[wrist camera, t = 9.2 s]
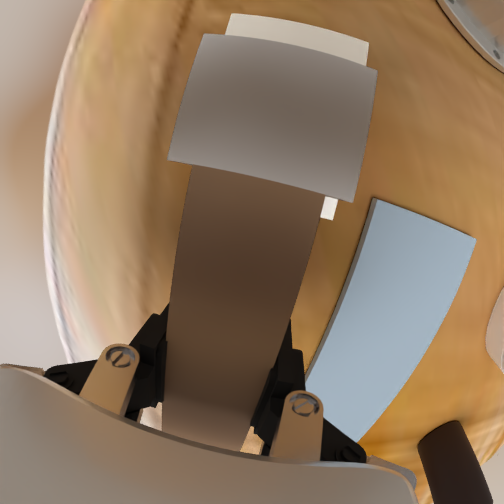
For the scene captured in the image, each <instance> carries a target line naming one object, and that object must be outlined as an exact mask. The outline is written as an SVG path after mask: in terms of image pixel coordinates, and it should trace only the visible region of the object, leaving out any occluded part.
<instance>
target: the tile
mask: <svg viewBox="0 0 504 504" xmlns="http://www.w3.org/2000/svg"><path fill="white" fill-rule="evenodd" d="M225 35H233V36H243V37H251V38H258V39H265V40H271V41H277V42H282V43H287V44H292V45H296V46H301V47H305V48H309V49H313V50H317V51H321V52H324V53H328V54H331V55H335V56H338V57H341V58H344V59H347V60H350V61H353V62H356V63H359V64H362V65H364V66H366V62H367V55H368V48H369V43H368V42H366V41H363V40H360V39H357V38H354V37H351V36H348V35H345V34H342V33H338V32H335V31H331V30H328V29H324V28H320V27H316V26H312V25H308V24H304V23H299V22H294V21H289V20H283V19H277V18H271V17H264V16H256V15H246V14H234V13H232V14H231V17H230V20H229V23H228V26H227V30H226V33H225ZM337 202H338V199H335V198H330V197H326V196H325V200H324V204H323V208H322V212H321V216H320V217H322V218H326V219H330V220H333V217H334V213H335V209H336V206H337Z"/></svg>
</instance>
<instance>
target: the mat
mask: <svg viewBox="0 0 504 504" xmlns="http://www.w3.org/2000/svg"><path fill="white" fill-rule="evenodd" d="M476 240H477V239H475V238H473V237H471V236H469V235H466V234H464V233H462V232H460V231H458V230H455V229H453V228H451V227H448V226H446V225H444V224H441V223H439V222H437V221H434V220H432V219H429V218H427V217H424V216H422V215H419V214H417V213H414V212H412V211H409V210H406V209H404V208H401V207H398V206H395V205H393V204H390V203H387V202H384V201H381V200H378V199H376V198H373V199H372V202H371V206H370V209H369V213H368V216H367V219H366V223H365V226H364V229H363V232H362V236H361V239H360V242H359V245H358V248H357V251H356V254H355V257H354V259H353V262H352V265H351V268H350V271H349V274H348V276H347V279H346V282H345V284H344V287H343V290H342V292H341V295H340V297H339V300H338V302H337V305H336V307H335V310H334V312H333V315H332V317H331V320H330V322H329V324H328V327H327V329H326V331H325V334H324V336H323V338H322V340H321V343H320V345H319V347H318V349H317V351H316V354H315V356H314V358H313V360H312V362H311V364H310V366H309V368H308V371H307V373H306V375H305V386H306V391H308V392H310V393H313V394H314V395H316V396H317V397H318V398H319V399H320V400H321V402H322V403H323V408H324V412H323V417H324V418H325V419H326V420H328V421H329V422H330V423H331V424H333V425H334V426H335V427H336V428H338V429H339V430H340V431H342V432H343V433H344V434H345V435H347V436H348V437H349V438H351V439H352V440H353V441H355V442H356V443H357V442H358V441H359V440H360V439H361V437H362V436H363V435H364V434H365V433H366V432H367V431H368V430H369V428H370V427H371V426H372V425H373V424H374V423H375V421H376V420H377V419H378V418H379V417H380V415H381V414H382V413H383V412H384V411H385V409H386V408H387V407H388V405H389V404H390V403H391V402H392V400H393V399H394V398H395V396H396V395H397V394H398V392H399V391H400V390H401V388H402V387H403V385H404V384H405V382H406V381H407V380H408V378H409V377H410V375H411V374H412V372H413V371H414V369H415V368H416V366H417V365H418V363H419V361H420V360H421V358H422V357H423V355H424V353H425V352H426V350H427V348H428V347H429V345H430V343H431V342H432V340H433V338H434V336H435V334H436V333H437V331H438V329H439V327H440V325H441V323H442V321H443V320H444V318H445V316H446V314H447V312H448V310H449V307H450V305H451V303H452V301H453V299H454V297H455V295H456V292H457V290H458V288H459V286H460V283H461V281H462V278H463V276H464V274H465V271H466V268H467V266H468V263H469V261H470V258H471V255H472V252H473V249H474V246H475V243H476Z"/></svg>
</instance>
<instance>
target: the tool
mask: <svg viewBox="0 0 504 504" xmlns="http://www.w3.org/2000/svg"><path fill="white" fill-rule="evenodd" d="M377 74H378V71H377V70H375V69H372V68H370V67H367V66H364V65H362V64H359V63H356V62H353V61H350V60H347V59H344V58H341V57H338V56H335V55H331V54H328V53H324V52H321V51H317V50H313V49H309V48H305V47H301V46H296V45H292V44H287V43H282V42H277V41H271V40H265V39H258V38H251V37H243V36H233V35H221V34H204V35H203V38H202V40H201V43H200V46H199V49H198V51H197V54H196V57H195V60H194V63H193V66H192V69H191V72H190V75H189V78H188V81H187V85H186V88H185V91H184V95H183V98H182V102H181V105H180V109H179V112H178V116H177V120H176V124H175V128H174V132H173V136H172V140H171V144H170V148H169V153H168V157H167V160H170V161H175V162H180V163H184V164H189V165H192V170H191V175H190V179H189V184H188V189H187V194H186V199H185V204H184V210H183V215H182V221H181V226H180V232H179V238H178V245H177V251H176V258H175V264H174V271H173V279H172V287H171V295H170V303H169V312H168V322H167V333H166V341H168V343H167V356H166V370H165V387H164V401H163V403H162V432H165V433H168V434H172V435H175V436H178V437H181V438H185V439H188V440H192V441H195V442H199V443H203V444H207V445H211V446H215V447H219V448H224V449H229V450H234V451H239V452H240V450H241V448H242V445H243V443H244V440H245V438H246V436H247V433H248V431H249V429H250V422H251V419H252V417H253V414H254V412H255V409H256V406H257V404H258V401H259V399H260V396H261V393H262V391H263V388H264V385H265V383H266V380H267V377H268V374H269V372H270V369H271V368H273V367H274V364H275V361H276V358H277V355H278V353H279V350H280V347H281V344H282V341H283V338H284V335H285V332H286V329H287V326H288V323H289V320H290V317H291V314H292V311H293V308H294V305H295V302H296V299H297V296H298V292H299V289H300V286H301V283H302V279H303V276H304V273H305V269H306V266H307V263H308V259H309V256H310V252H311V249H312V245H313V242H314V238H315V234H316V231H317V227H318V223H319V220H320V216H321V212H322V208H323V204H324V200H325V196H326V197H330V198H335V199H339V200H343V201H347V202H352V203H353V200H354V196H355V192H356V188H357V183H358V179H359V175H360V171H361V166H362V161H363V157H364V152H365V147H366V142H367V137H368V132H369V126H370V121H371V115H372V109H373V102H374V96H375V89H376V82H377Z"/></svg>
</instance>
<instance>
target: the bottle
mask: <svg viewBox="0 0 504 504" xmlns="http://www.w3.org/2000/svg"><path fill="white" fill-rule="evenodd" d="M418 452H419V455H420V458H421V461H422V464H423V467H424V471H425V474H426V477H427V480H428V484H429V487H430V491H431V494H432V498H433V502H434V504H493V499H492V496H491V493H490V491H489V488H488V485H487V483H486V480H485V477H484V475H483V472H482V470H481V467H480V465H479V462H478V460H477V458H476V455H475V453H474V451H473V449H472V447H471V444H470V442H469V440H468V438H467V436H466V434H465V432H464V430H463V428H462V426H461V424H460V423H459V422H456V421H453V422H449V423H447V424H444V425H442V426H440V427H439V428H437V429H435V430H434V431H432V432H431V433H429V434H428V435H427V436H426V437H424V439H423V440H422V441H421V442H420V444H419V445H418Z"/></svg>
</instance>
